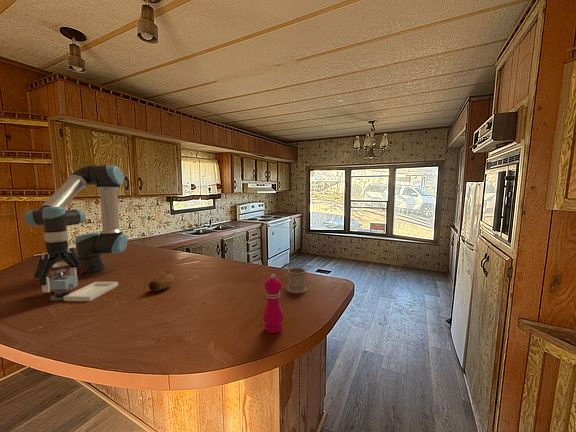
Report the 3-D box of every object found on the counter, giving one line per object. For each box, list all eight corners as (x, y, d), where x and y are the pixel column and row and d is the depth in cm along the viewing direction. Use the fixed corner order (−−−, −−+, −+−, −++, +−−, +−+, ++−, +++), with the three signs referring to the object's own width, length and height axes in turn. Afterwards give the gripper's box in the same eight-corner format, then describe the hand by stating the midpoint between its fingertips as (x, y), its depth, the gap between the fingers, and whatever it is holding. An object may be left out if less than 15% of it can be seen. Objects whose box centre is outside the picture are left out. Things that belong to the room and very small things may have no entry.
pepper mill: (263, 323, 92) (262, 271, 90) (282, 322, 92) (282, 270, 90) (263, 334, 85) (262, 277, 83) (284, 333, 85) (283, 277, 83)
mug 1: (56, 295, 117) (53, 268, 116) (48, 292, 122) (45, 265, 120) (87, 286, 129) (85, 261, 127) (79, 283, 133) (76, 259, 131)
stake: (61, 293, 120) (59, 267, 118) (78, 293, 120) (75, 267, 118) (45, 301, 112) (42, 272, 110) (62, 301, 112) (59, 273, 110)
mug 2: (310, 288, 124) (310, 265, 123) (297, 295, 117) (297, 270, 116) (289, 281, 134) (289, 260, 133) (276, 287, 127) (276, 264, 126)
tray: (95, 285, 129) (95, 281, 129) (118, 285, 129) (117, 281, 129) (63, 301, 112) (63, 296, 111) (90, 301, 111) (89, 296, 111)
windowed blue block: (43, 289, 112) (42, 281, 112) (57, 284, 118) (56, 276, 118) (69, 289, 112) (68, 281, 111) (81, 284, 118) (80, 276, 118)
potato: (156, 299, 120) (143, 290, 120) (174, 283, 132) (162, 275, 132) (161, 289, 117) (147, 280, 117) (179, 274, 129) (166, 265, 129)
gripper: (72, 236, 125) (76, 276, 127) (18, 246, 101) (23, 297, 103) (87, 236, 125) (90, 276, 127) (36, 246, 100) (41, 297, 102)
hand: (60, 286), depth 115 cm, fingers open, 13 cm apart
